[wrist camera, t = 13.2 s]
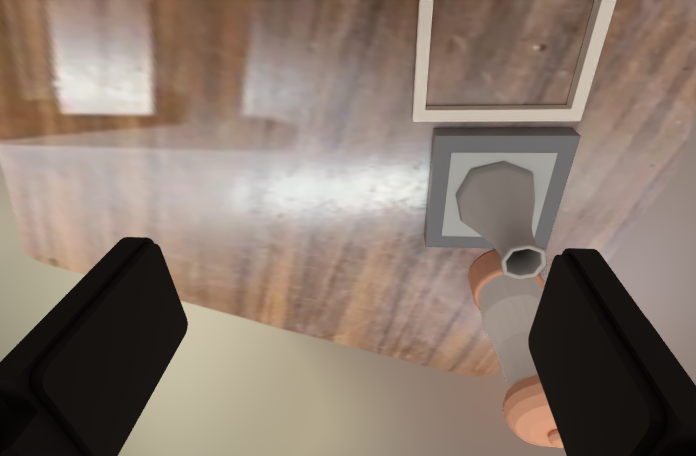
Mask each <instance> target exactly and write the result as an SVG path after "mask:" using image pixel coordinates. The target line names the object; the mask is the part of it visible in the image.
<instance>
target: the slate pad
mask: <svg viewBox="0 0 696 456" xmlns="http://www.w3.org/2000/svg"><path fill="white" fill-rule="evenodd" d="M579 140H580V135H579V134H578V133H577V132H576V131H575V130H574V129H573V128H434V130H433V142H432V153H431V165H430V176H429V187H428V199H427V210H426V221H425V233H424V238H425V246H426V247H452V248H491V249H495V248H494V247H493V245H492V244H491V243H489V242H488V241H487V240H486V239H484V238H483V237H482V236H481V235H479V234H478V233H477V232H476V231H474V230H473V229H471V228H470V227H468V226H467V225H466V224H464V223H463V222H462V221H461V220H460V216H459V210H458V205H457V200H456V194H457V192H458V191H459V189H460V187H461V186H462V184H463V182H464V180H465V179H466V177H467V175H468V174H469V172H470V170H471V169H476V168H480V167H484V166H489V165H493V164H497V163H501V162H506V163H509V164H511V165H514V166H516V167H519V168H522V169H524V170H527V171H530V172H532V173H533V178H534V192H535V206H534V213H533V221H532V232H533V237H534V239H535V241H536V243H537V245H538V246H540V247H543V248H544V249H545V250H546V248H547V245H548V241H549V238H550V235H551V231H552V228H553V225H554V222H555V218H556V215H557V212H558V209H559V205H560V202H561V199H562V195H563V192H564V189H565V186H566V182H567V179H568V176H569V173H570V169H571V166H572V163H573V159H574V156H575V153H576V150H577V146H578V143H579Z"/></svg>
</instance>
